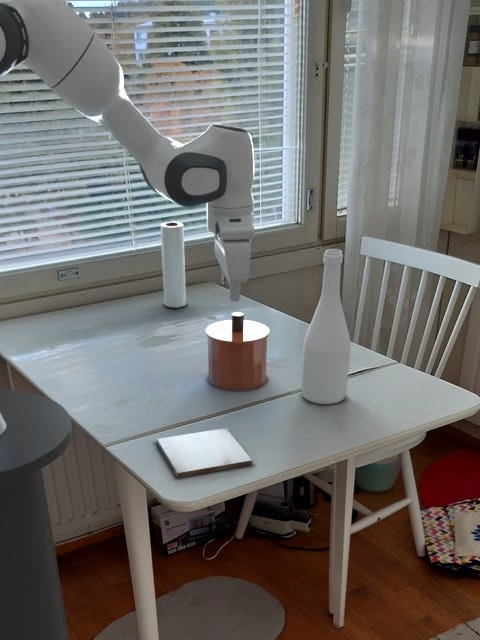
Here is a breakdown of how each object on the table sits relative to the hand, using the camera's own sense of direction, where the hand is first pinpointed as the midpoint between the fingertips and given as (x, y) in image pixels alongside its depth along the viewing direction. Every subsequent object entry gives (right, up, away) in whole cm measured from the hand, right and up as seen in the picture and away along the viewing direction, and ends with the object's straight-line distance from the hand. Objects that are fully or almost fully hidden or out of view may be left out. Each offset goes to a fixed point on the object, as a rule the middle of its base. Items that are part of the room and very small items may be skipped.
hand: (230, 292), depth 156 cm
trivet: (-5, -33, -12) cm, 36 cm away
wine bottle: (+20, -19, +10) cm, 29 cm away
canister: (+1, -14, +18) cm, 22 cm away
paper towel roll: (-16, +15, +61) cm, 65 cm away
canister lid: (+1, -5, +12) cm, 13 cm away
